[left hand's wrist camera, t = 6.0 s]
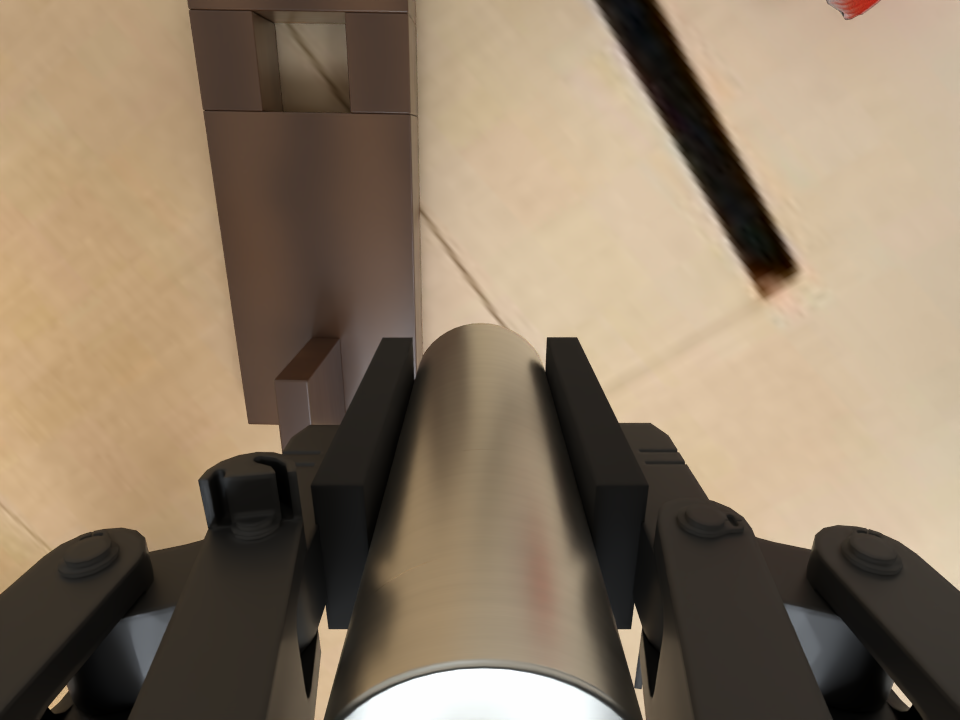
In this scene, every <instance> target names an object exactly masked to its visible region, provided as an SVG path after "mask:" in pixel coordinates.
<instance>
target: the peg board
mask: <svg viewBox="0 0 960 720" xmlns="http://www.w3.org/2000/svg"><path fill="white" fill-rule="evenodd" d="M187 1H188V7H189V9H190V10H189V15H190V22H191V29H192V36H193V43H194V50H195V57H196V64H197V71H198V78H199V84H200V91H201V98H202V105H203V110H205V111H204V119H205V126H206V133H207V140H208V147H209V153H210V160H211V167H212V174H213V181H214V188H215V195H216V202H217V209H218V216H219V223H220V230H221V237H222V244H223V251H224V258H225V265H226V272H227V278H228V285H229V292H230V299H231V306H232V313H233V320H234V327H235V334H236V341H237V348H238V355H239V362H240V369H241V376H242V383H243V390H244V396H245V403H246V410H247V417H248V423H249V424H270V425H279V429H280V437H281V445H282V454H283V450H284V448H285V447H286V445H287V444H288V442H289V440H290V439H291V437H293V436H294V435H295V434H297V433H298V432H300V431H301V430H303V429H304V428H306V427H307V426H308V425H340V424H341V422H342V420H343V418H344V416H345V414H346V411H347V409H348V407H349V405H350V403H351V401H352V399H353V397H354V395H355V393H356V391H357V389H358V387H359V385H360V383H361V381H362V379H363V377H364V374H365V372H366V370H367V368H368V366H369V364H370V362H371V360H372V358H373V356H374V354H375V352H376V350H377V348H378V346H379V344H380V342H381V340H382V338H383V337H413V357H414V379H415V377H416V373H417V370H418V367H419V363H420V361H421V359H422V357H423V353H422V303H421V253H420V203H419V153H418V118H417V117H416V116H417V115H418V103H417V53H416V26H415V24H416V3H415V0H187ZM274 23H318V24H345V25H346V42H347V59H348V76H349V93H350V110H351V113H316V112H283V107H282V97H281V86H280V76H279V66H278V56H277V46H276V35H275V25H274Z"/></svg>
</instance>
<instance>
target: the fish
mask: <svg viewBox="0 0 960 720" xmlns="http://www.w3.org/2000/svg"><path fill="white" fill-rule="evenodd" d="M826 1H827V3H828V4H829V5H831V6H832V7H834V8H835V9H837V10H838V11H840V13H841V14H842V15H843V17H844V18H845V20H848V19H852V18H854V17H856V16H858V15H861V14H864V13H865V12H866V11H868V10H869V9H871V8H872V7H873V6H874V5H876V4H877V3H878V2H879V1H880V0H826Z"/></svg>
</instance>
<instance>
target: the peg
mask: <svg viewBox="0 0 960 720" xmlns="http://www.w3.org/2000/svg"><path fill="white" fill-rule="evenodd" d="M324 720H643V718H642V715H641V711H640V708H639V704H638V701H637V697H636V694H635V690H634V686H633V683H632V679H631V676H630V672H629V669H628V665H627V662H626V658H625V654H624V651H623V647H622V644H621V640H620V637H619V633H618V629H617V626H616V622H615V619H614V615H613V612H612V608H611V605H610V601H609V597H608V594H607V590H606V587H605V583H604V580H603V576H602V573H601V569H600V565H599V562H598V558H597V555H596V551H595V548H594V544H593V540H592V537H591V533H590V530H589V526H588V523H587V519H586V516H585V512H584V509H583V505H582V501H581V498H580V494H579V491H578V487H577V484H576V480H575V476H574V473H573V469H572V466H571V462H570V459H569V455H568V452H567V448H566V444H565V441H564V437H563V434H562V430H561V427H560V423H559V419H558V416H557V412H556V409H555V405H554V402H553V398H552V395H551V391H550V387H549V384H548V380H547V377H546V373H545V370H544V367H543V363H542V361H541V359H540V357H539V355H538V353H537V352H536V350H535V349H534V348H533V347H532V345H531V344H530V343H529V342H528V341H527V340H525V339H524V338H523V337H522V336H520V335H519V334H517V333H516V332H514V331H512V330H510V329H508V328H505V327H502V326H499V325H494V324H485V323H477V324H469V325H463V326H460V327H457V328H454V329H452V330H450V331H448V332H446V333H445V334H443V335H442V336H440V337H439V338H438V339H437V340H435V341H434V342H433V343H432V344H431V345H430V347H429V348H428V349H427V350H426V352H425V353H424V355H423V357H422V359H421V361H420V363H419V367H418V370H417V373H416V377H415V381H414V385H413V388H412V392H411V396H410V399H409V403H408V407H407V411H406V414H405V418H404V422H403V426H402V429H401V433H400V437H399V440H398V444H397V448H396V452H395V455H394V459H393V463H392V467H391V470H390V474H389V478H388V482H387V485H386V489H385V493H384V496H383V500H382V504H381V508H380V511H379V515H378V519H377V523H376V526H375V530H374V534H373V537H372V541H371V545H370V549H369V552H368V556H367V560H366V564H365V567H364V571H363V575H362V579H361V582H360V586H359V590H358V593H357V597H356V601H355V605H354V608H353V612H352V616H351V620H350V623H349V627H348V631H347V634H346V638H345V642H344V646H343V649H342V653H341V657H340V661H339V664H338V668H337V672H336V675H335V679H334V683H333V687H332V690H331V694H330V698H329V702H328V705H327V709H326V713H325V717H324Z"/></svg>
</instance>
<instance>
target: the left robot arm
mask: <svg viewBox="0 0 960 720" xmlns="http://www.w3.org/2000/svg"><path fill="white" fill-rule="evenodd" d="M545 373H546V377H547V380H548V384H549V387H550V391H551V395H552V398H553V402H554V405H555V409H556V412H557V416H558V419H559V423H560V427H561V430H562V434H563V437H564V441H565V444H566V448H567V452H568V455H569V459H570V462H571V466H572V469H573V473H574V476H575V480H576V484H577V487H578V491H579V494H580V498H581V501H582V505H583V509H584V512H585V516H586V519H587V523H588V526H589V530H590V533H591V537H592V540H593V544H594V548H595V551H596V555H597V558H598V562H599V565H600V569H601V573H602V576H603V580H604V583H605V587H606V590H607V594H608V597H609V601H610V605H611V608H612V612H613V615H614V619H615V622H616V626H617V629H631V625H632V617H633V609H634V603H635V606H636V609H637V612H638V615H639V618H640V621H641V624H642V634H641V641H640V649H639V656H638V663H637V671H636V678H635V686H634V688H637V689H642V685H643V695H644V704H645V714H646V720H960V591H959V590H958V589H956V588H955V587H954V586H953V585H952V584H951V583H950V582H948V581H947V580H946V579H945V578H944V577H943V576H941V575H940V574H939V573H938V572H937V571H936V570H935V569H933V568H932V567H931V566H930V565H929V564H928V563H926V562H925V561H924V560H923V559H922V558H921V557H920V556H918V555H917V554H916V553H915V552H913V551H912V550H910V549H909V548H907V547H906V546H904V545H903V544H902V543H900V542H898V541H896V540H894V539H892V538H890V537H887V536H885V535H883V534H881V533H879V532H876V531H873V530H870V529H869V530H868V529H866V528H861V527H856V526H842V525H836V526H831V527H827V528H823V529H822V530H821V531H820V532H818V533H817V534H816V535H815V538H814V542H813V546H812V550H810V549H805V548H800V547H795V546H791V545H786V544H781V543H776V542H772V541H768V540H764V539H760V538H757V537H755V535H754V533H753V530H752V528H751V527H750V526H749V524H748V523H747V521H746V520H745V519H744V517H742V516H741V515H739V514H738V513H737V512H735V511H734V510H732V509H731V508H729V507H727V506H724V505H722V504H719V503H717V502H715V501H711V500H709V499H708V497H707V496H706V494H705V493H704V491H703V489H702V488H701V486H700V485H699V483H698V481H697V480H696V478H695V477H694V475H693V474H692V472H691V470H690V469H689V467H688V466H687V464H685V461H684V459H683V458H682V456H681V455H680V453H679V452H677V448H676V447H675V445H674V444H673V442H672V440H671V439H670V437H669V436H668V435H667V434H666V433H664V432H663V431H661V430H660V429H658V428H657V427H655V426H654V425H653V424H651V423H618V421H617V419H616V416H615V414H614V412H613V410H612V408H611V406H610V404H609V402H608V400H607V398H606V396H605V394H604V392H603V390H602V388H601V386H600V384H599V382H598V379H597V377H596V375H595V373H594V371H593V369H592V367H591V365H590V363H589V361H588V359H587V357H586V355H585V353H584V351H583V349H582V347H581V345H580V342H579V340H578V338H577V337H547V348H546V370H545ZM414 381H415V379H414V357H413V337H383V338H382V340H381V342H380V344H379V346H378V348H377V350H376V352H375V354H374V356H373V358H372V360H371V362H370V364H369V366H368V368H367V370H366V372H365V374H364V377H363V379H362V381H361V383H360V385H359V387H358V389H357V391H356V393H355V395H354V397H353V399H352V401H351V403H350V405H349V407H348V409H347V411H346V414H345V416H344V418H343V420H342V422H341V424H340V425H308V426H307V427H306V428H304V429H303V430H301V431H300V432H298V433H297V434H295V435H294V436H293V437H291V439H290V440H289V442H288V444H287V445H286V447H285V448H284V450H283V454H278V453H274V452H255V453H249V454H243V455H238V456H235V457H232V458H230V459H227V460H224V461H221V462H220V463H218V464H216V465H215V466H213V467H211V468H210V469H208V470H207V471H206V472H205V473H204V474H203V475H202V476H201V478H200V479H199V480H198V482H199V486H200V491H201V496H202V501H203V506H204V510H205V515H206V520H207V525H208V531H207V534H206V536H205V538H204V540H201V541H197V542H193V543H190V544H186V545H181V546H176V547H171V548H167V549H162V550H157V551H152V552H148V548H147V544H146V540H145V537H143V536H142V535H141V534H140V533H139V532H138V531H136V530H131V529H126V528H112V529H102V530H97V531H94V532H89V533H86V534H83V535H80V536H78V537H76V538H74V539H72V540H70V541H68V542H65V543H63V544H61V545H60V546H58V547H57V548H55V549H54V550H53V551H51V552H50V553H48V554H47V555H45V556H44V557H43V558H42V559H40V560H39V561H38V562H37V563H36V564H35V565H34V566H32V567H31V568H30V569H29V570H28V571H27V572H26V573H24V574H23V575H22V576H21V577H20V578H19V579H18V580H16V581H15V582H14V583H13V584H12V585H11V586H10V587H8V588H7V589H6V590H5V591H4V592H3V593H2V594H0V720H314V715H315V706H316V696H317V686H318V677H319V667H320V657H321V649H320V641H319V634H318V626H319V623H320V620H321V617H322V614H323V611H324V608H325V605H326V612H327V620H328V628H329V629H348V627H349V623H350V620H351V616H352V612H353V608H354V605H355V601H356V597H357V593H358V590H359V586H360V582H361V579H362V575H363V571H364V567H365V564H366V560H367V556H368V552H369V549H370V545H371V541H372V537H373V534H374V530H375V526H376V523H377V519H378V515H379V511H380V508H381V504H382V500H383V496H384V493H385V489H386V485H387V482H388V478H389V474H390V470H391V467H392V463H393V459H394V455H395V452H396V448H397V444H398V440H399V437H400V433H401V429H402V426H403V422H404V418H405V414H406V411H407V407H408V403H409V399H410V396H411V392H412V388H413V385H414ZM894 682H895V684H896V685H897V686H898V687H899V688H900V690H901V691H902V692H903V693H904V694H905V696H906V697H907V698H908V699H909V700H910V701H911V703H912V706H911V708H909V707H908V706H907V705H906V704H905V703H904V702H903V701H902V700H900V698H899V697H898V696H897V695H896V693H895V692H894V691H893V690H892V689H891V688H892V686H893V683H894ZM66 685H67V687H68V690H69V691H68V693H67V694H66V695H65V696H64V697H63V699H62V700H61V701H60V702H59V703H58V704H57V705H56V706H55V707H53V708H52V709H51V710H50V709H49V708H48V706H49V705H50V704H51V703H52V702H53V700H54V699H55V698H56V697H57V696H58V694H59V693H60V692H61V691H62V690H63V688H64V687H65V686H66Z"/></svg>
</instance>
